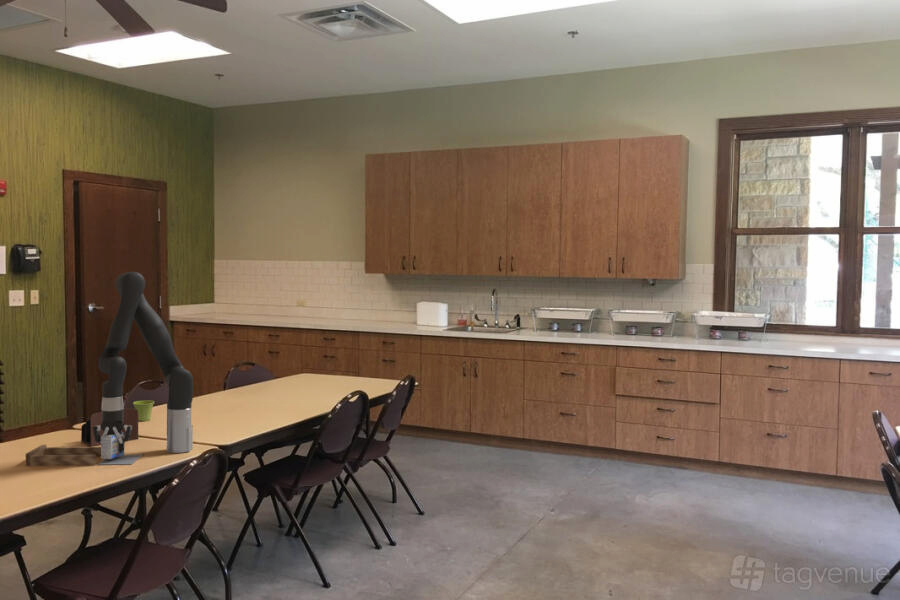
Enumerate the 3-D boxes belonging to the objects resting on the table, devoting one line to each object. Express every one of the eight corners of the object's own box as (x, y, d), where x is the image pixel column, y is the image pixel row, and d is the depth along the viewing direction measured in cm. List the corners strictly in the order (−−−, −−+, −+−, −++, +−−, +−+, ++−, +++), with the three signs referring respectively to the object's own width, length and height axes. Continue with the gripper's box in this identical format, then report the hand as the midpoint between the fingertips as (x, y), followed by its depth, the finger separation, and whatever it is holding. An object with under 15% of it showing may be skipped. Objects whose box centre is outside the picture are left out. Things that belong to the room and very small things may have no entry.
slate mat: (142, 455, 287) (142, 454, 287) (131, 464, 273) (131, 463, 273) (110, 455, 286) (110, 454, 286) (97, 465, 272) (97, 464, 272)
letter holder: (138, 439, 314) (138, 406, 313) (90, 447, 299) (90, 412, 298) (128, 435, 320) (128, 403, 320) (80, 443, 306) (80, 409, 305)
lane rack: (107, 455, 286) (107, 444, 285) (94, 465, 272) (94, 453, 271) (42, 456, 283) (42, 444, 283) (25, 465, 269) (25, 453, 269)
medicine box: (111, 459, 275) (111, 436, 274) (100, 458, 276) (100, 435, 275) (124, 454, 282) (124, 432, 282) (114, 453, 283) (114, 431, 283)
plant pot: (150, 417, 359) (150, 399, 359) (157, 420, 352) (157, 402, 351) (130, 419, 353) (130, 401, 353) (136, 423, 346) (136, 404, 345)
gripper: (135, 406, 283) (135, 450, 284) (96, 406, 281) (96, 450, 282) (129, 410, 275) (129, 455, 276) (89, 410, 274) (89, 455, 274)
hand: (112, 452), depth 279 cm, fingers closed on medicine box, 5 cm apart
